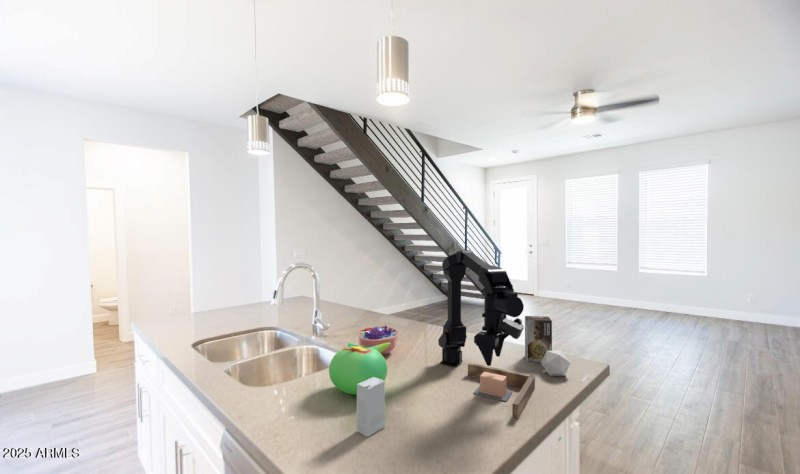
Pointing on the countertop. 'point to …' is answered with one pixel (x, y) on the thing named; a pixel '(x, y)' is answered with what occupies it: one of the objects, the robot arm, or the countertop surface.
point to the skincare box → (370, 406)
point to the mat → (505, 398)
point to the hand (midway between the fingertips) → (493, 360)
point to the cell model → (378, 337)
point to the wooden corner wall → (512, 379)
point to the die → (555, 363)
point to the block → (493, 384)
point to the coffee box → (537, 337)
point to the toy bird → (357, 366)
